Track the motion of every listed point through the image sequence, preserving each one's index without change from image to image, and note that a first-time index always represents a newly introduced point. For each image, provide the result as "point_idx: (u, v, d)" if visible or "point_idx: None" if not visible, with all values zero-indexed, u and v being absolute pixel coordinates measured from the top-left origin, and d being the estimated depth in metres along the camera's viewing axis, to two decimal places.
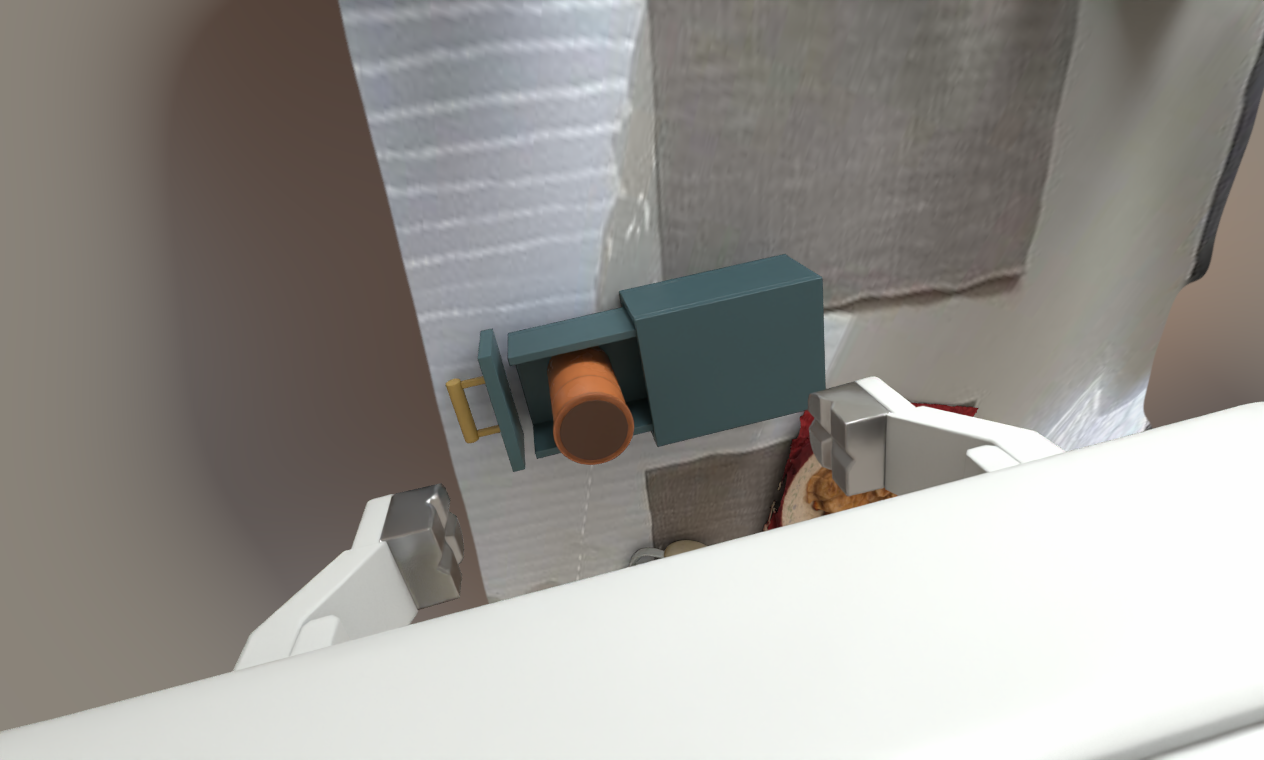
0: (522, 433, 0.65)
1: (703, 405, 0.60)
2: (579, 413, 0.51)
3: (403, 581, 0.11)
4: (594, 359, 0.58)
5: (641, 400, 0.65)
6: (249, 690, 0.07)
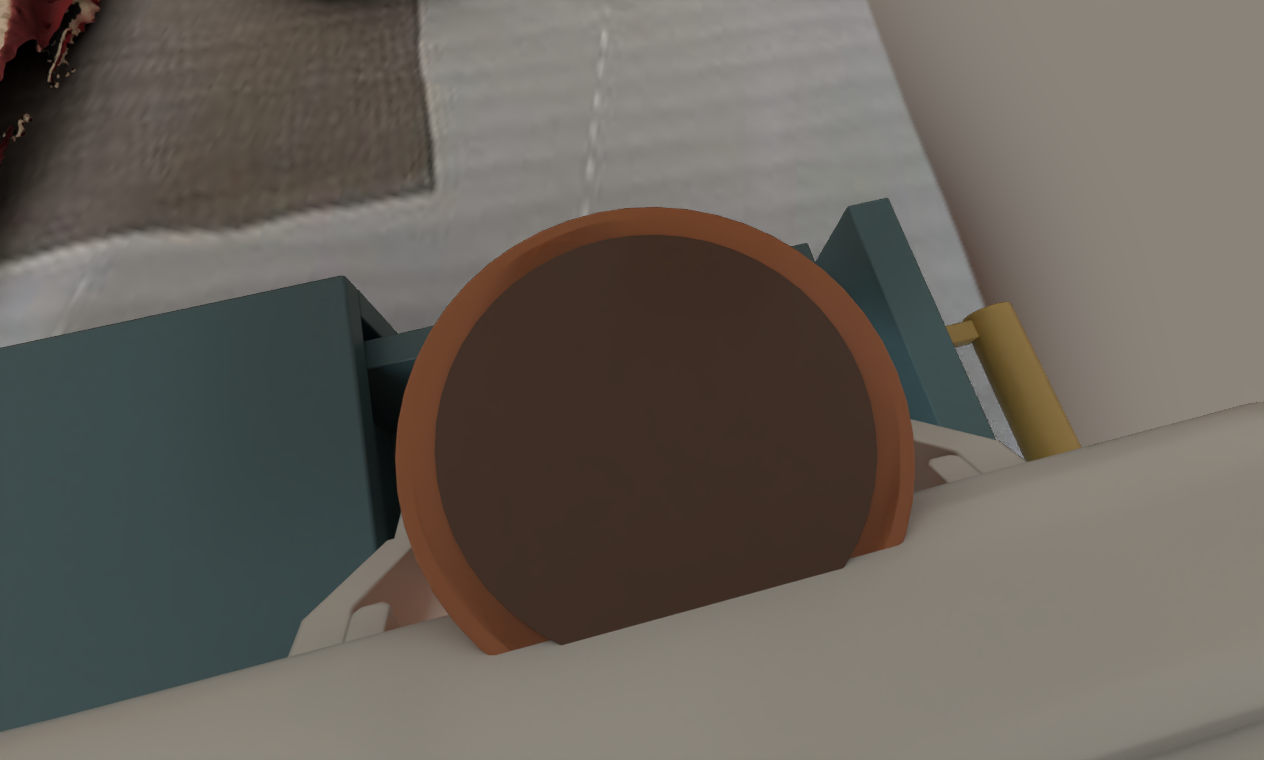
0: None
1: (123, 460, 0.13)
2: (762, 561, 0.08)
3: None
4: None
5: None
6: (249, 690, 0.07)
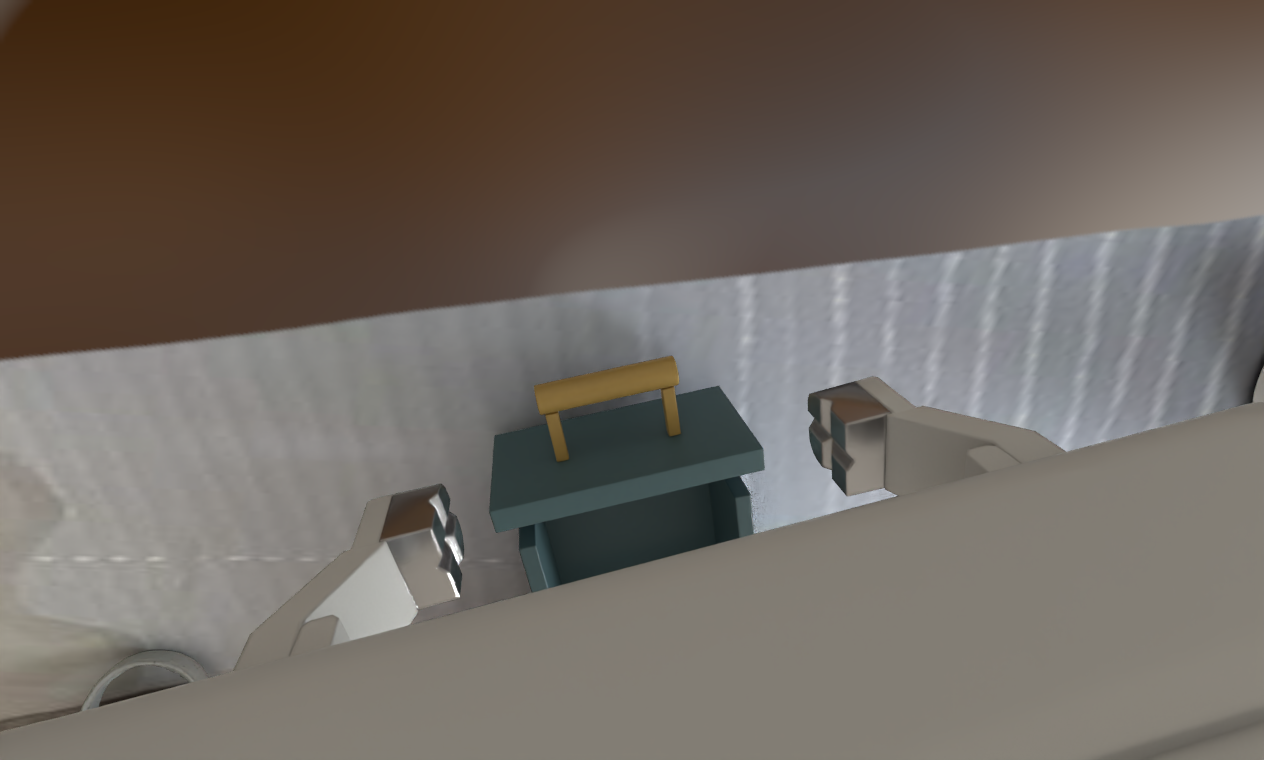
0: None
1: None
2: None
3: (403, 581, 0.11)
4: None
5: None
6: (250, 690, 0.07)
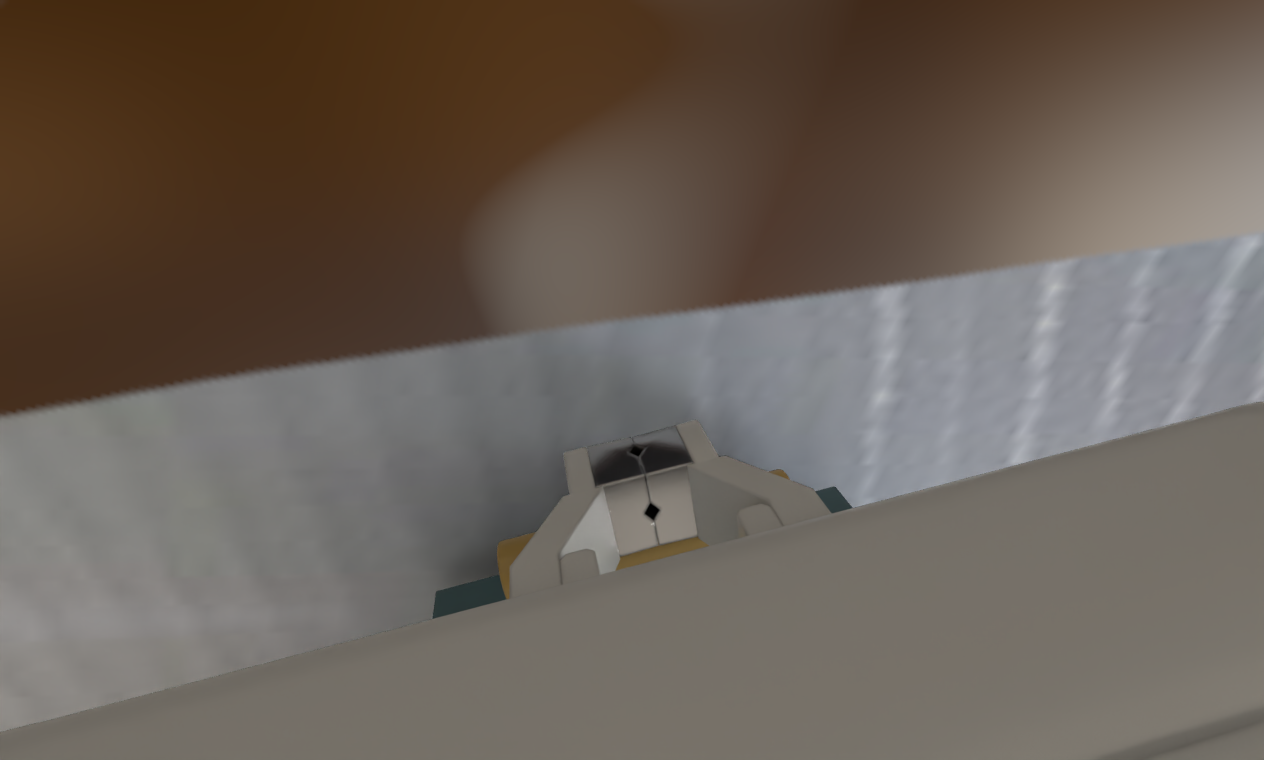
0: None
1: None
2: None
3: (612, 527, 0.12)
4: None
5: None
6: (249, 690, 0.07)
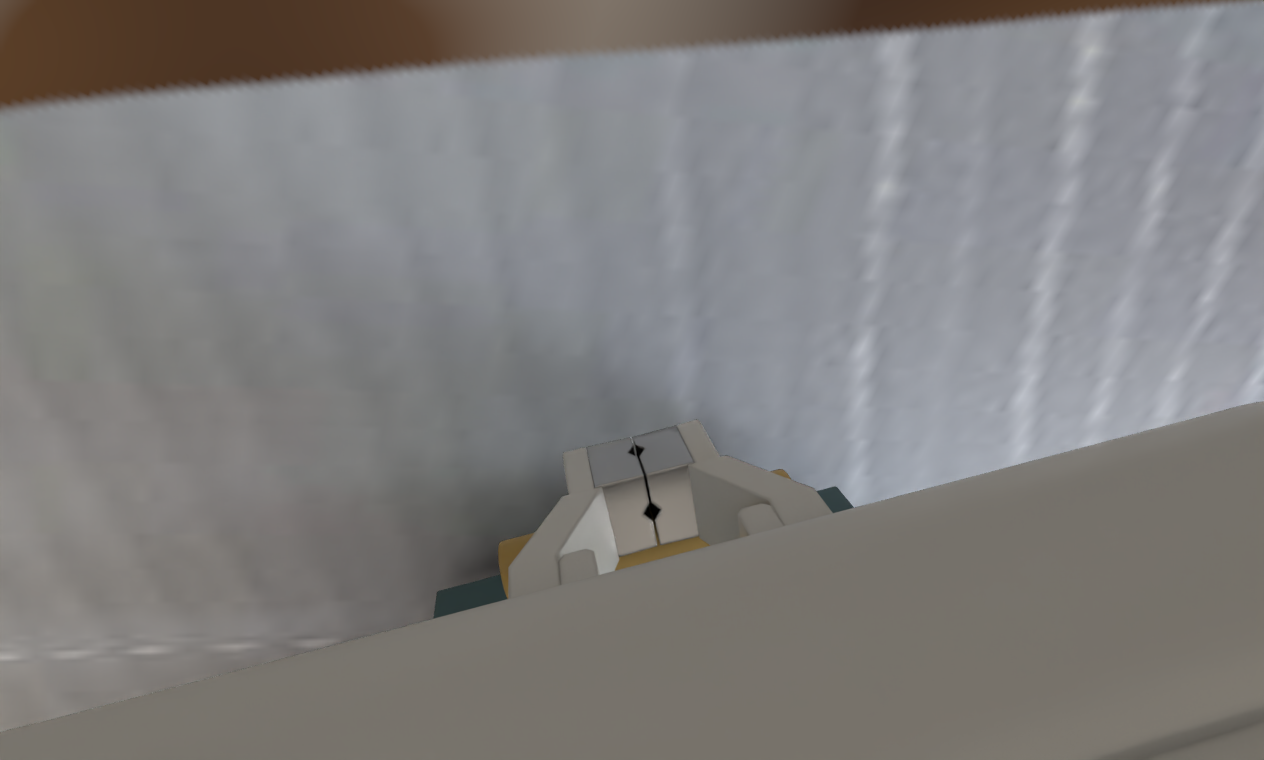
0: None
1: None
2: None
3: (612, 527, 0.12)
4: None
5: None
6: (249, 689, 0.07)
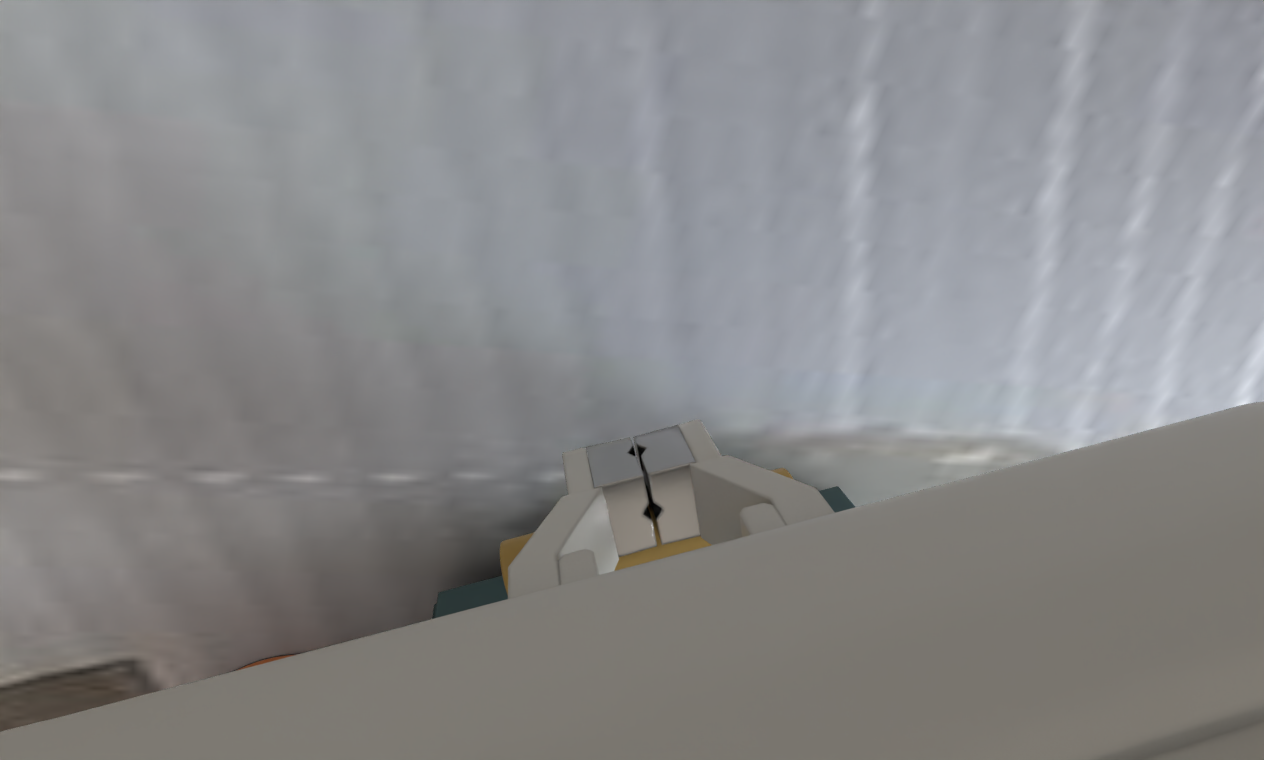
0: None
1: None
2: None
3: (611, 527, 0.12)
4: None
5: None
6: (249, 690, 0.07)
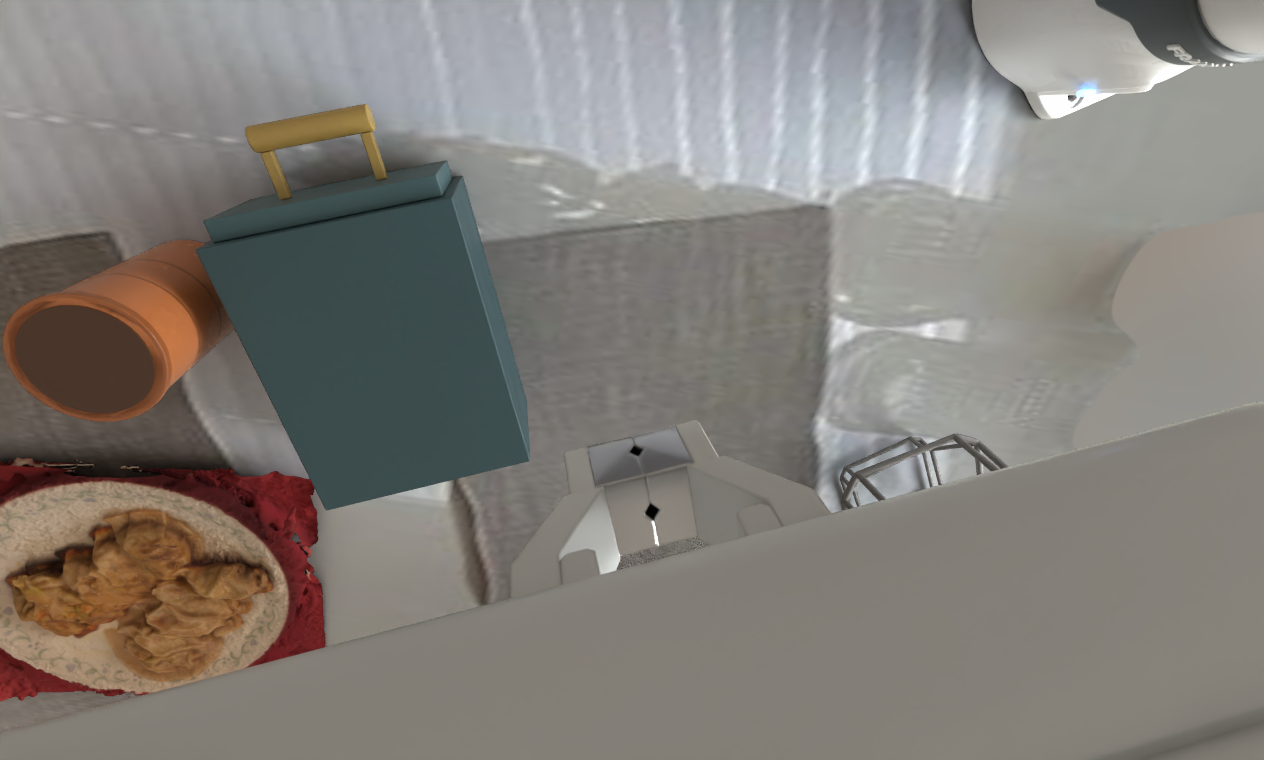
0: None
1: (300, 324, 0.35)
2: (119, 336, 0.30)
3: (613, 527, 0.12)
4: (225, 323, 0.38)
5: None
6: (249, 690, 0.07)
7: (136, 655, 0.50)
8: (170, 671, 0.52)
